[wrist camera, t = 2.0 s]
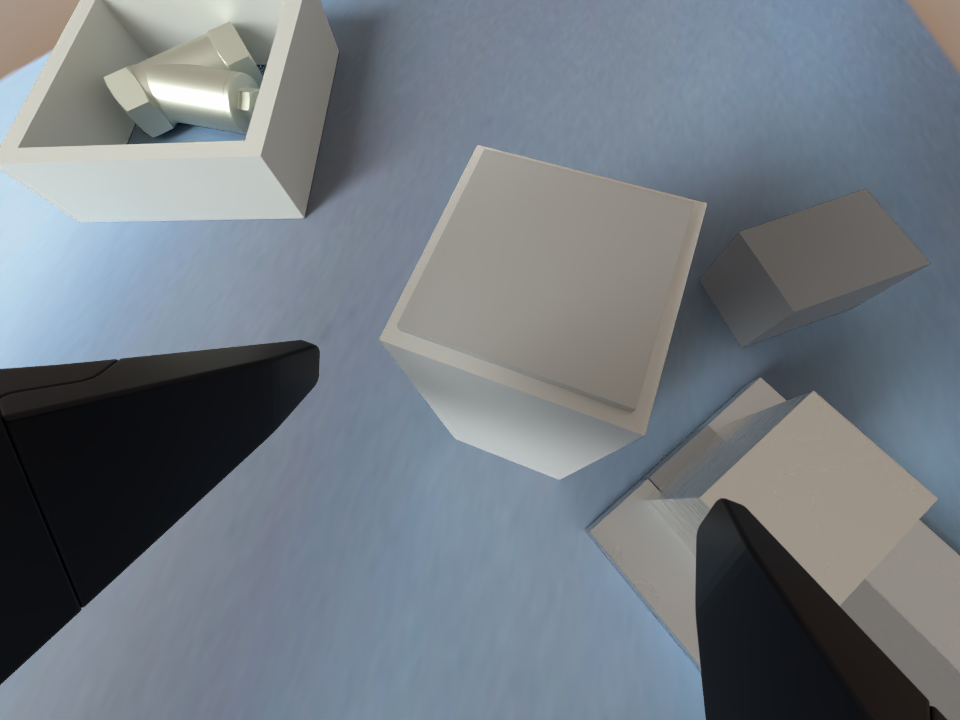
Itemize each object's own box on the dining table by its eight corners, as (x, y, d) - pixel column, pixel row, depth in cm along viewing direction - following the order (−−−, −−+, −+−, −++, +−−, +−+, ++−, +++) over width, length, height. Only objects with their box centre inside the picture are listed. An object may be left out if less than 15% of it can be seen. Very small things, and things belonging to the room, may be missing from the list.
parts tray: (79, 222, 25) (-9, 163, 21) (148, 60, 29) (88, -15, 25) (304, 218, 24) (260, 156, 20) (339, 51, 28) (309, -29, 24)
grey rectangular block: (739, 349, 20) (794, 312, 16) (697, 281, 21) (739, 231, 17) (851, 309, 20) (931, 263, 16) (803, 244, 21) (866, 188, 18)
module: (559, 479, 18) (650, 432, 7) (455, 438, 19) (375, 334, 8) (592, 375, 20) (714, 188, 8) (495, 341, 21) (479, 130, 9)
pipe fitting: (295, 131, 27) (255, 66, 29) (264, 75, 23) (220, 4, 25) (181, 187, 26) (146, 115, 28) (129, 138, 22) (92, 59, 24)
